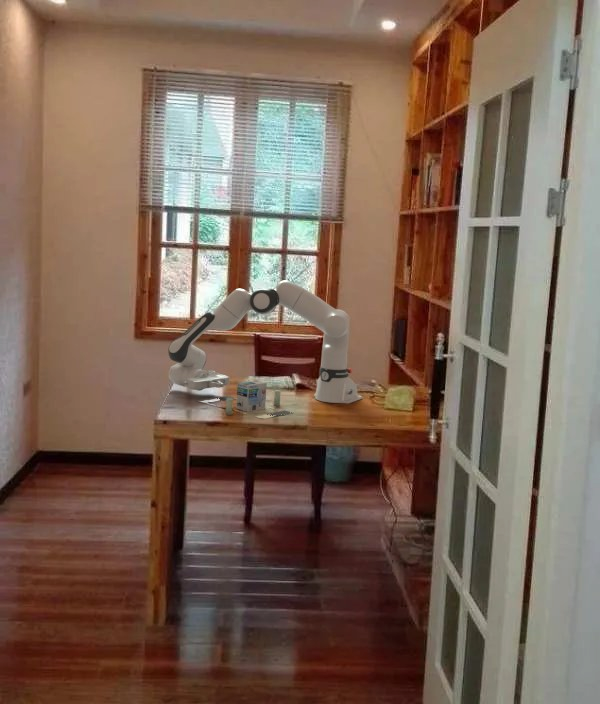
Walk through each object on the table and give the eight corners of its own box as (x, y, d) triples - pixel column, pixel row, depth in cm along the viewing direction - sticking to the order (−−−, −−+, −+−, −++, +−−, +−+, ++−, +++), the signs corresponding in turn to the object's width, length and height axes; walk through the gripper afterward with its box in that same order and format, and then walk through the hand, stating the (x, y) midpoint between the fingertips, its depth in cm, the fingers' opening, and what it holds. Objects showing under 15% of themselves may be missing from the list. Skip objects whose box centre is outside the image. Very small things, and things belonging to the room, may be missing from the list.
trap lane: (237, 394, 344) (238, 380, 344) (303, 410, 321) (304, 396, 320) (184, 403, 321) (185, 388, 320) (252, 421, 298) (252, 406, 297)
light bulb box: (247, 412, 313) (249, 385, 311) (235, 409, 317) (236, 382, 315) (266, 408, 321) (267, 382, 319) (254, 405, 325) (255, 379, 323)
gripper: (180, 374, 329) (203, 380, 320) (215, 370, 344) (238, 375, 336) (179, 389, 330) (202, 395, 321) (215, 384, 345) (237, 390, 337)
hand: (221, 385), depth 328 cm, fingers closed
